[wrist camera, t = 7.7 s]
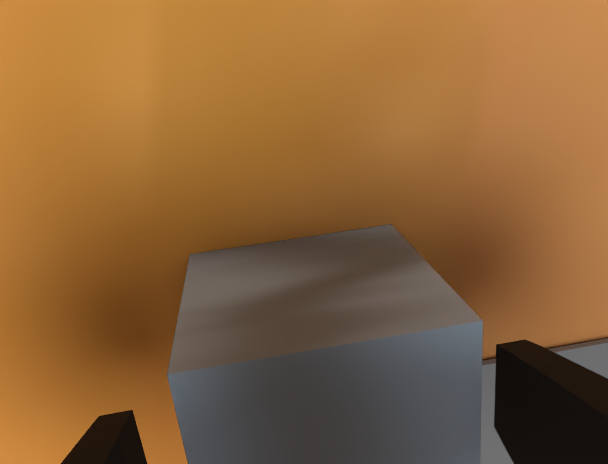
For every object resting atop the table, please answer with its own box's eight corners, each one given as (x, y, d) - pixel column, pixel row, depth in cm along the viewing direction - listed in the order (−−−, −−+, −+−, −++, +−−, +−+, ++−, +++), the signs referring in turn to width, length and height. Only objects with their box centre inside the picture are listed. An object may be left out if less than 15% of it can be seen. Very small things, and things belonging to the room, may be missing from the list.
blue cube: (390, 223, 13) (482, 320, 8) (398, 387, 15) (478, 545, 10) (190, 253, 12) (167, 374, 8) (222, 419, 14) (220, 601, 9)
